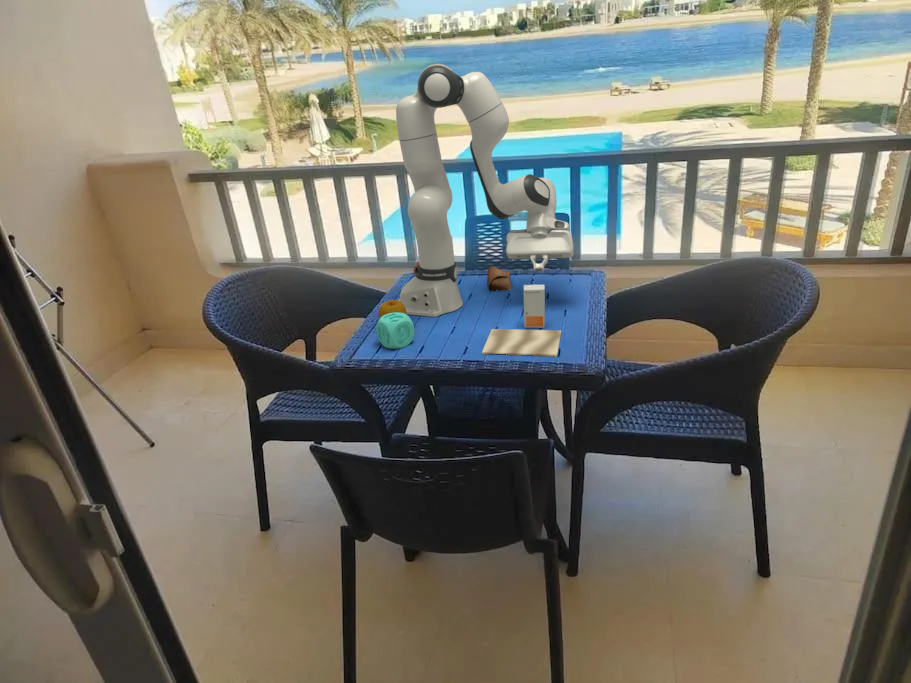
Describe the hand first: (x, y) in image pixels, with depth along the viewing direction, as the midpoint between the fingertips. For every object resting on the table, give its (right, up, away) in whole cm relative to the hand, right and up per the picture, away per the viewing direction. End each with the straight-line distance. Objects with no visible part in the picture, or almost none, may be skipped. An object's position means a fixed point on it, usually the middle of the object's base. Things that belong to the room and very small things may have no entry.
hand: (538, 270), depth 183 cm
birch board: (-6, -22, -14) cm, 26 cm away
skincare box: (-2, -17, -3) cm, 17 cm away
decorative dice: (-42, -22, -7) cm, 47 cm away
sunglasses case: (-9, -1, +32) cm, 34 cm away
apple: (-43, -17, +3) cm, 47 cm away
